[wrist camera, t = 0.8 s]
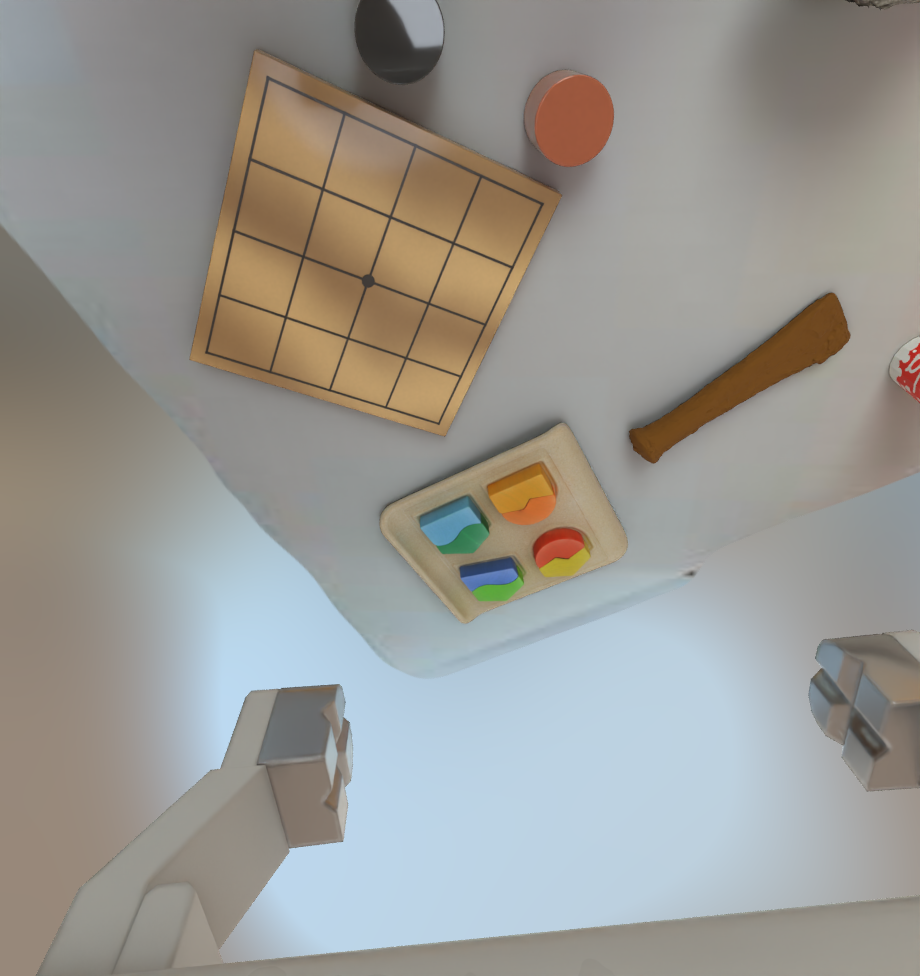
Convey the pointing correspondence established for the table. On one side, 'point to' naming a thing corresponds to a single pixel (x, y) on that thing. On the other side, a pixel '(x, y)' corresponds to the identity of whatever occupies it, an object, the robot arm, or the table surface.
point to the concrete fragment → (882, 3)
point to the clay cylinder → (569, 117)
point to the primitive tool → (751, 375)
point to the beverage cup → (907, 368)
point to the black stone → (399, 38)
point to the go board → (361, 252)
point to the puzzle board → (507, 526)
